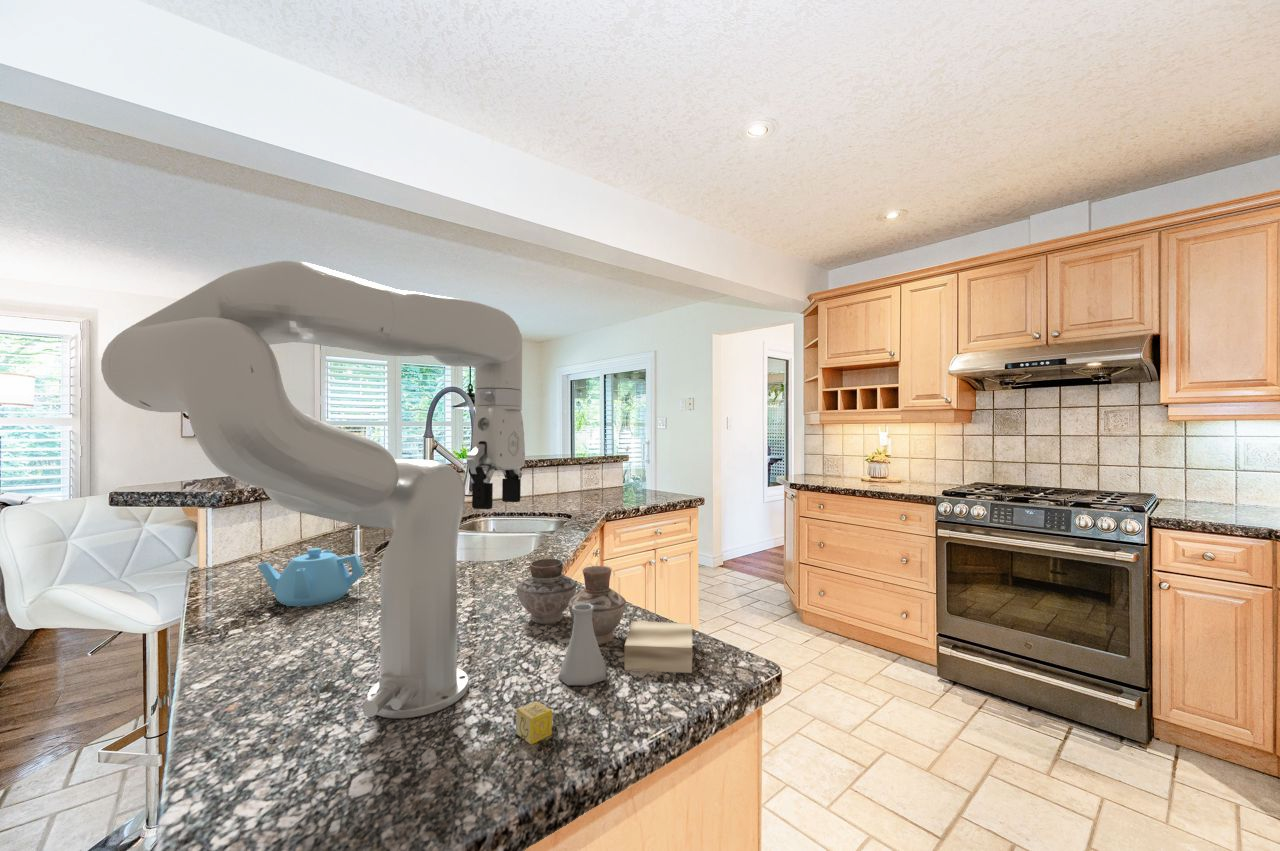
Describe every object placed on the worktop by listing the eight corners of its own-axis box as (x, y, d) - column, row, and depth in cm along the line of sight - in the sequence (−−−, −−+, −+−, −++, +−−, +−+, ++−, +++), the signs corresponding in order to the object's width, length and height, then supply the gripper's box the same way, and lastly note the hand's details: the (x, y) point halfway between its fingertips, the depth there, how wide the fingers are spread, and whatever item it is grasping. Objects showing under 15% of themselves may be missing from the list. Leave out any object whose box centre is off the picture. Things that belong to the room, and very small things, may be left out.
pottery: (593, 657, 82) (592, 581, 82) (504, 619, 99) (504, 556, 99) (641, 636, 90) (641, 567, 90) (552, 605, 107) (552, 547, 107)
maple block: (692, 675, 76) (692, 647, 76) (624, 672, 77) (624, 645, 77) (692, 647, 86) (692, 623, 86) (632, 645, 87) (632, 621, 87)
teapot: (294, 615, 101) (295, 560, 102) (255, 603, 109) (255, 552, 109) (368, 594, 115) (368, 545, 115) (329, 585, 122) (329, 539, 122)
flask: (554, 668, 78) (554, 601, 78) (601, 662, 80) (601, 596, 80) (562, 691, 71) (561, 617, 71) (613, 683, 73) (613, 612, 73)
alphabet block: (537, 724, 63) (537, 699, 63) (552, 734, 61) (552, 708, 61) (515, 735, 61) (515, 708, 61) (530, 746, 58) (530, 718, 58)
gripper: (493, 396, 77) (492, 512, 76) (540, 405, 94) (540, 500, 93) (448, 397, 78) (446, 511, 78) (502, 405, 95) (501, 499, 95)
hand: (497, 505), depth 85 cm, fingers open, 9 cm apart
